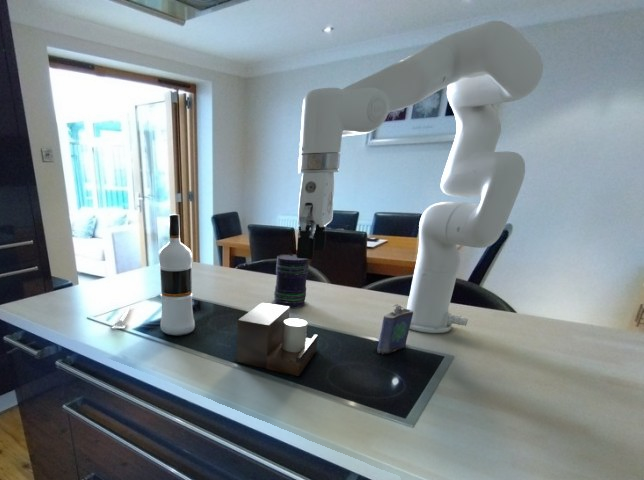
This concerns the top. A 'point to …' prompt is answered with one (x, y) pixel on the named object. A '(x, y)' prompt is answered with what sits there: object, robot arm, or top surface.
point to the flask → (394, 330)
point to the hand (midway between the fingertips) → (311, 253)
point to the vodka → (176, 283)
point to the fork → (120, 322)
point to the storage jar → (291, 280)
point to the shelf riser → (270, 341)
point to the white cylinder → (294, 335)
